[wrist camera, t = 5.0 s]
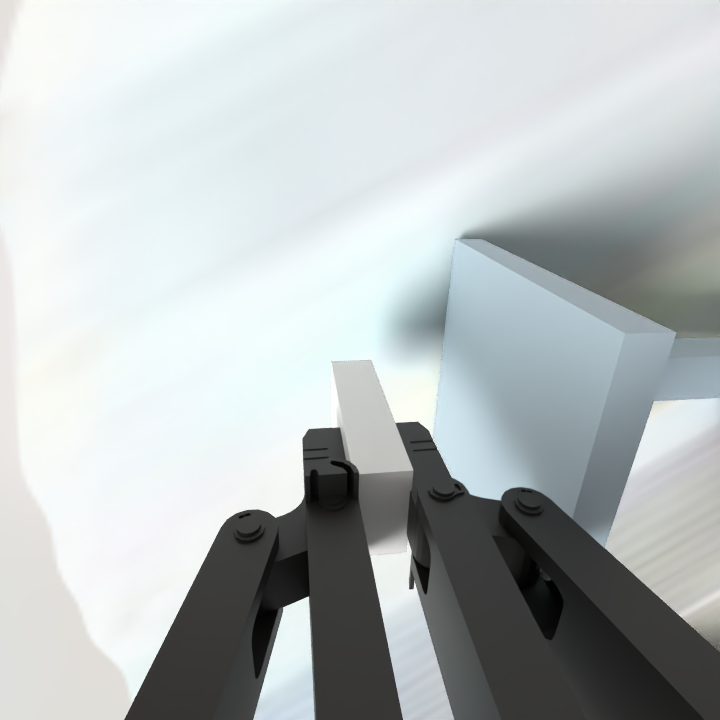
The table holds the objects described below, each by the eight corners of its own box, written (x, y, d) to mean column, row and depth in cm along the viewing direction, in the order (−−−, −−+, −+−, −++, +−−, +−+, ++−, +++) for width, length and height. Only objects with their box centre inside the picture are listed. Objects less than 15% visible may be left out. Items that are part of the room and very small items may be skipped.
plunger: (431, 445, 24) (532, 656, 14) (456, 226, 19) (631, 310, 9) (738, 427, 26) (1008, 595, 16) (824, 229, 22) (1269, 298, 12)
